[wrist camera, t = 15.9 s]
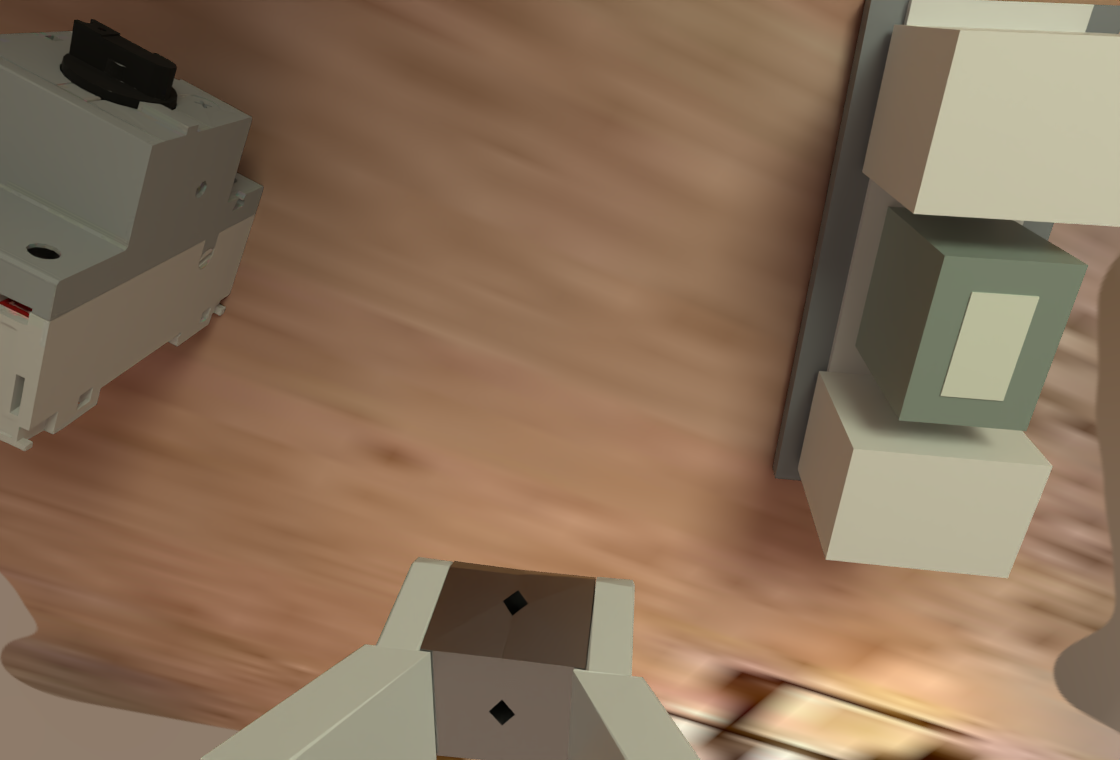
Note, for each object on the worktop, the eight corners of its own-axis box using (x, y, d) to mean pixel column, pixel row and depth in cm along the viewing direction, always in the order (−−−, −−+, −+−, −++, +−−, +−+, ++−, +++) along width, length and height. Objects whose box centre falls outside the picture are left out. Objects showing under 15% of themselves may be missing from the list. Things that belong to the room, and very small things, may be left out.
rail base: (866, -4, 32) (936, -6, 24) (1114, 6, 31) (1273, 6, 23) (772, 468, 42) (799, 574, 35) (953, 484, 42) (1023, 597, 34)
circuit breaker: (300, 73, 36) (89, 115, 22) (223, 313, 42) (23, 456, 29) (152, -8, 35) (-159, -16, 21) (97, 249, 41) (-170, 367, 28)
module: (888, 206, 34) (945, 256, 27) (1002, 213, 34) (1089, 265, 27) (854, 345, 37) (899, 421, 30) (958, 353, 37) (1026, 431, 30)
